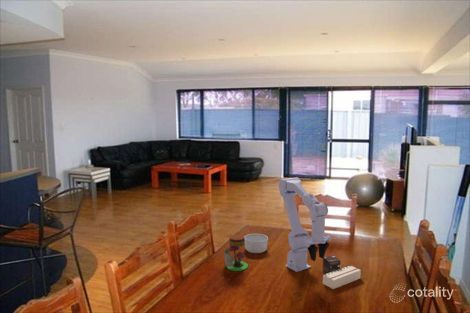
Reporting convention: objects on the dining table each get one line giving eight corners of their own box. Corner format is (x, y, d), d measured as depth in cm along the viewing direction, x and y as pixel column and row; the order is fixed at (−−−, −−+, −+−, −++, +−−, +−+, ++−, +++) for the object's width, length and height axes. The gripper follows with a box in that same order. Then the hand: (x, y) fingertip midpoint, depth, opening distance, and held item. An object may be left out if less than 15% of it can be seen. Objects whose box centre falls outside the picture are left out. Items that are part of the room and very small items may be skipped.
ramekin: (261, 256, 199) (261, 243, 198) (239, 251, 206) (239, 238, 205) (272, 248, 210) (272, 236, 210) (251, 243, 217) (251, 231, 216)
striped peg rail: (333, 289, 163) (333, 279, 162) (322, 283, 168) (323, 274, 167) (360, 278, 173) (360, 269, 172) (349, 273, 178) (350, 265, 177)
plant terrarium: (243, 259, 195) (243, 231, 193) (252, 269, 183) (252, 239, 181) (221, 263, 191) (220, 234, 189) (229, 273, 179) (229, 242, 177)
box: (328, 277, 174) (329, 262, 173) (322, 271, 180) (322, 257, 179) (340, 275, 176) (340, 260, 175) (333, 270, 182) (334, 255, 181)
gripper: (312, 235, 163) (312, 265, 164) (336, 229, 171) (335, 258, 172) (301, 231, 168) (300, 260, 170) (324, 225, 176) (323, 253, 178)
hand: (317, 258), depth 172 cm, fingers open, 5 cm apart
